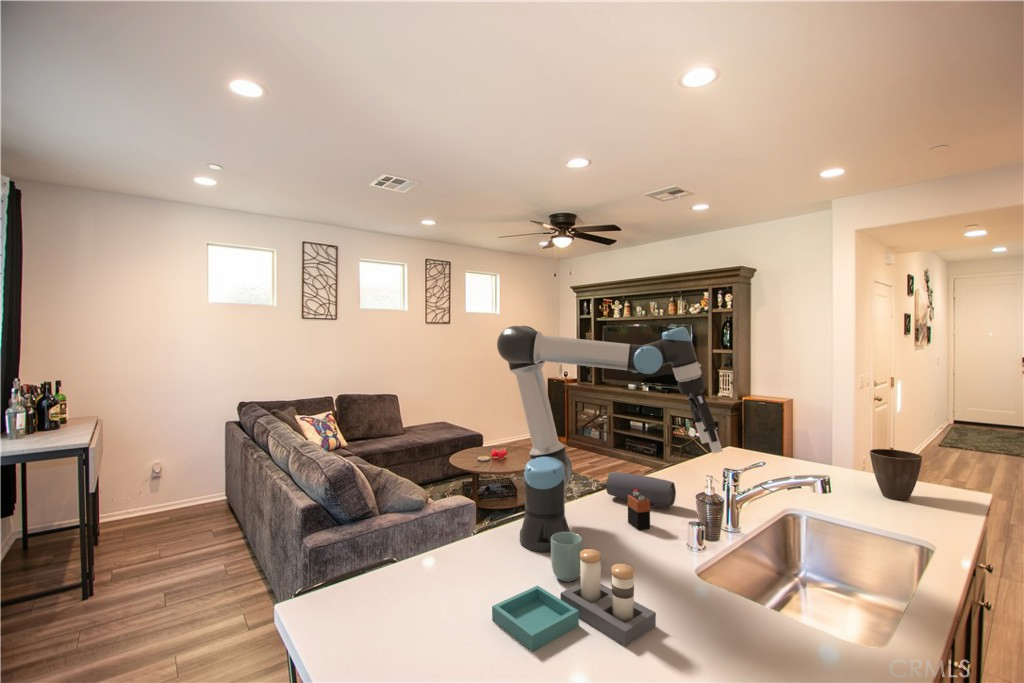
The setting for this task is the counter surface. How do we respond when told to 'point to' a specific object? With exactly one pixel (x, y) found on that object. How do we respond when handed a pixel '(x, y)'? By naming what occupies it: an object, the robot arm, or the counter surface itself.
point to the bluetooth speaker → (641, 488)
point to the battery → (638, 511)
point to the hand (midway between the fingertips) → (711, 447)
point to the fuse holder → (610, 615)
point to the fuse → (590, 575)
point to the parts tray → (535, 617)
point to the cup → (566, 555)
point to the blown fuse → (623, 592)
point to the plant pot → (896, 472)
